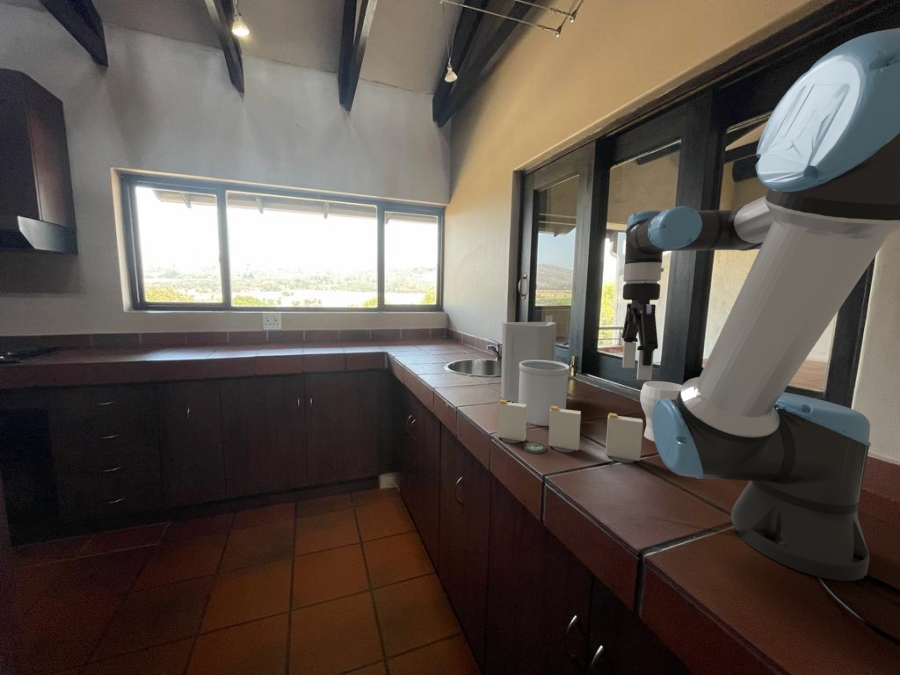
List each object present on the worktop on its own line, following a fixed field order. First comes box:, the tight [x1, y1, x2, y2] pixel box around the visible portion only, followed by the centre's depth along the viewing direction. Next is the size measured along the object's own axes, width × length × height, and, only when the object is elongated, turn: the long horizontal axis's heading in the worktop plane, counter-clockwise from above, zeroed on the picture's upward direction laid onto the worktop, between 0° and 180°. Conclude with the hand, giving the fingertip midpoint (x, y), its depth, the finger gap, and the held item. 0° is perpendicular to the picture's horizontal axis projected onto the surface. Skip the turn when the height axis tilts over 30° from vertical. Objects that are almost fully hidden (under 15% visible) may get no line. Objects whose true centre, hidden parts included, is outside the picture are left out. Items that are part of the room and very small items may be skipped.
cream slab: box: [496, 398, 527, 444], centre depth 89 cm, size 5×7×10 cm
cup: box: [639, 380, 683, 443], centre depth 90 cm, size 11×11×15 cm
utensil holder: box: [519, 360, 571, 427], centre depth 105 cm, size 15×15×18 cm
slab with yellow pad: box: [605, 412, 644, 464], centre depth 79 cm, size 5×7×10 cm
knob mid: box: [548, 406, 582, 454], centre depth 84 cm, size 5×7×10 cm
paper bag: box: [500, 321, 557, 403], centre depth 122 cm, size 19×15×28 cm
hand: (635, 373), depth 82 cm, fingers open, 13 cm apart
